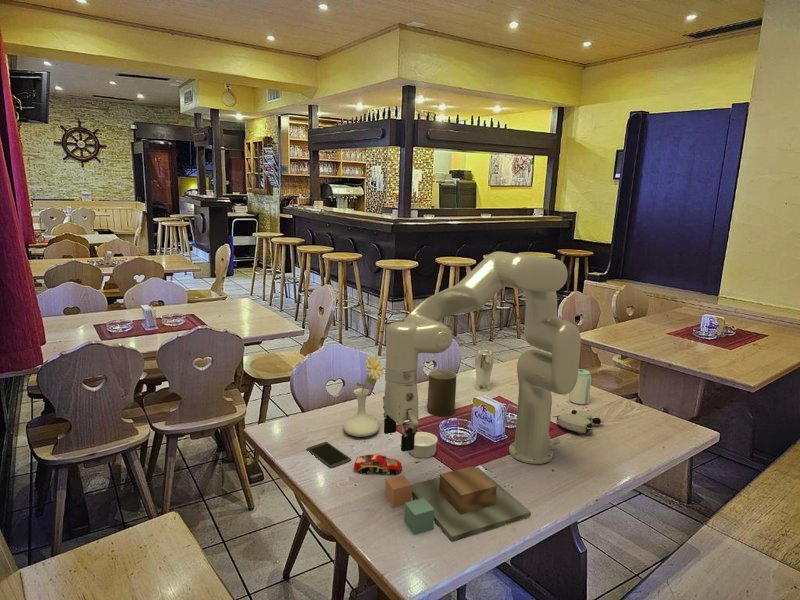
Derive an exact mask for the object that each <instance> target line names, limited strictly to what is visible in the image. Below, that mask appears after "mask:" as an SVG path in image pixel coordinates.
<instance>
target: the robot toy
mask: <svg viewBox="0 0 800 600" xmlns="http://www.w3.org/2000/svg"><path fill="white" fill-rule="evenodd" d="M552 418H556V421H557V425H559V426H561V427H562V428H563V429H566V430H569V431H572V432H576V433H578V434H580V435H581V434H585V433H587V432H590V431H591V430H593V429H594V427H593V424H594V425H600V424H601V423H604V422H605V420H604V419H602V418H600V417H593V414H592V413H590V412H588V411H584V410H579V411H577V410H576V409H572V410H571V412H570V413H569V412H563V413H561V414H558V415H552Z"/></svg>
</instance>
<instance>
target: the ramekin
mask: <svg viewBox="0 0 800 600" xmlns="http://www.w3.org/2000/svg"><path fill="white" fill-rule="evenodd" d="M438 440H439V439H438V437H437V436H436V435H435V434H434V433H430V432H426V431H417V432H416V435H415V440H414V449H413V450H410V451H408V452H409V454H410V455H411V456H413V457H415V458H418V459H427V458H432V457H433V456H434V455H435V454H436V450H437V443H438Z"/></svg>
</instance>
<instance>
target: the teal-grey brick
mask: <svg viewBox="0 0 800 600" xmlns="http://www.w3.org/2000/svg"><path fill="white" fill-rule="evenodd" d="M403 518H404V519H403V521H404V523H405V525H406V526H407V527H408V529H409V530H410V532H411V533H412V534H413V535H417V534H420V533H424V532H428V531H431V530H434V527H435V526H434V525H435V521H434V509H433V507H432V506H431V505H430V504H429V503H428V502H427V501H426V500H425V498H421V499H417V500H416V499H414V500H412V501H410V502H406V503H405V505H404V517H403Z"/></svg>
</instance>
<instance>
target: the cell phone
mask: <svg viewBox="0 0 800 600" xmlns="http://www.w3.org/2000/svg"><path fill="white" fill-rule="evenodd" d="M305 451H307V452H308V451H309V452H310V453H311V454H310V453H309V452H308V453H309V454H310V455H312V456H313V455H314V456H315V459H317V458H318V459H319V460H320V461H319V460H318V459H317V460H318V461H319V462H320V463H322V464H323V465H325V466H326V467H327V468H328V469H335V468H337V467H340V466H343V465H345V464H348V463H350V461H351V462H352V459H351V457H349V456H348V455H347V454H345V453H344V452H342V451H341V450H340V449H338V448H337V447H335V446H333V445H332V444H331V443H330V442H328V441H324V442H320V443H318V444H315V445H312V446H308V447H306V449H305ZM314 456H313V457H314Z"/></svg>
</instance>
